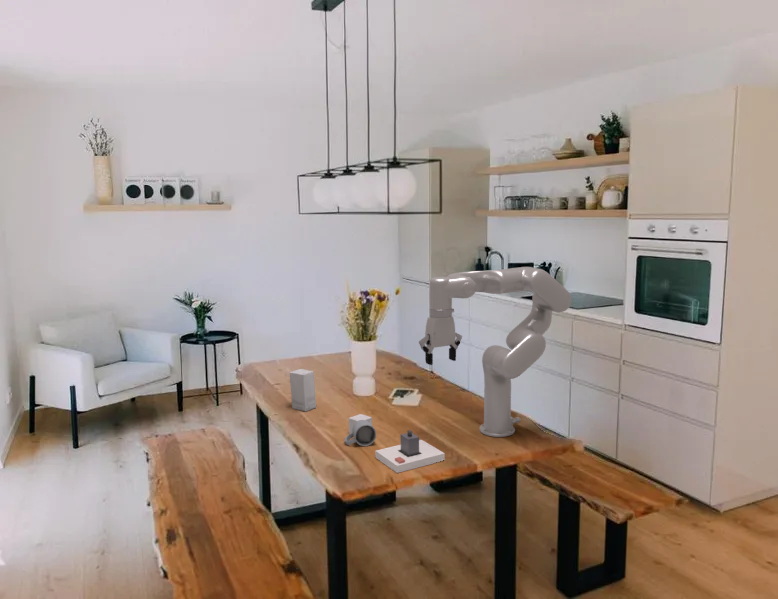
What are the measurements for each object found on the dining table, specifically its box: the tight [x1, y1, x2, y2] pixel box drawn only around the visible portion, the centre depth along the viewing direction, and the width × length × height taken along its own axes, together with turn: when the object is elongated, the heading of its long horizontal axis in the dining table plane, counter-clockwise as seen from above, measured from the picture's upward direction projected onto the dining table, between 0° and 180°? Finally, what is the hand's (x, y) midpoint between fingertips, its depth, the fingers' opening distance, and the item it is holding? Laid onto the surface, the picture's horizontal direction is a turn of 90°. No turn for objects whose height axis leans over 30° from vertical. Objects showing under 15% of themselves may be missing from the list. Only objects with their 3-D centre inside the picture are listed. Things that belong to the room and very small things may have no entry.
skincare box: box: [289, 368, 317, 412], centre depth 259 cm, size 8×7×16 cm
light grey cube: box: [348, 413, 373, 435], centre depth 231 cm, size 6×6×6 cm
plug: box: [400, 429, 420, 457], centre depth 208 cm, size 4×5×10 cm
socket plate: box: [374, 439, 446, 474], centre depth 208 cm, size 18×14×3 cm
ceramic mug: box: [343, 420, 377, 447], centre depth 222 cm, size 11×8×8 cm
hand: (440, 362), depth 219 cm, fingers open, 9 cm apart
